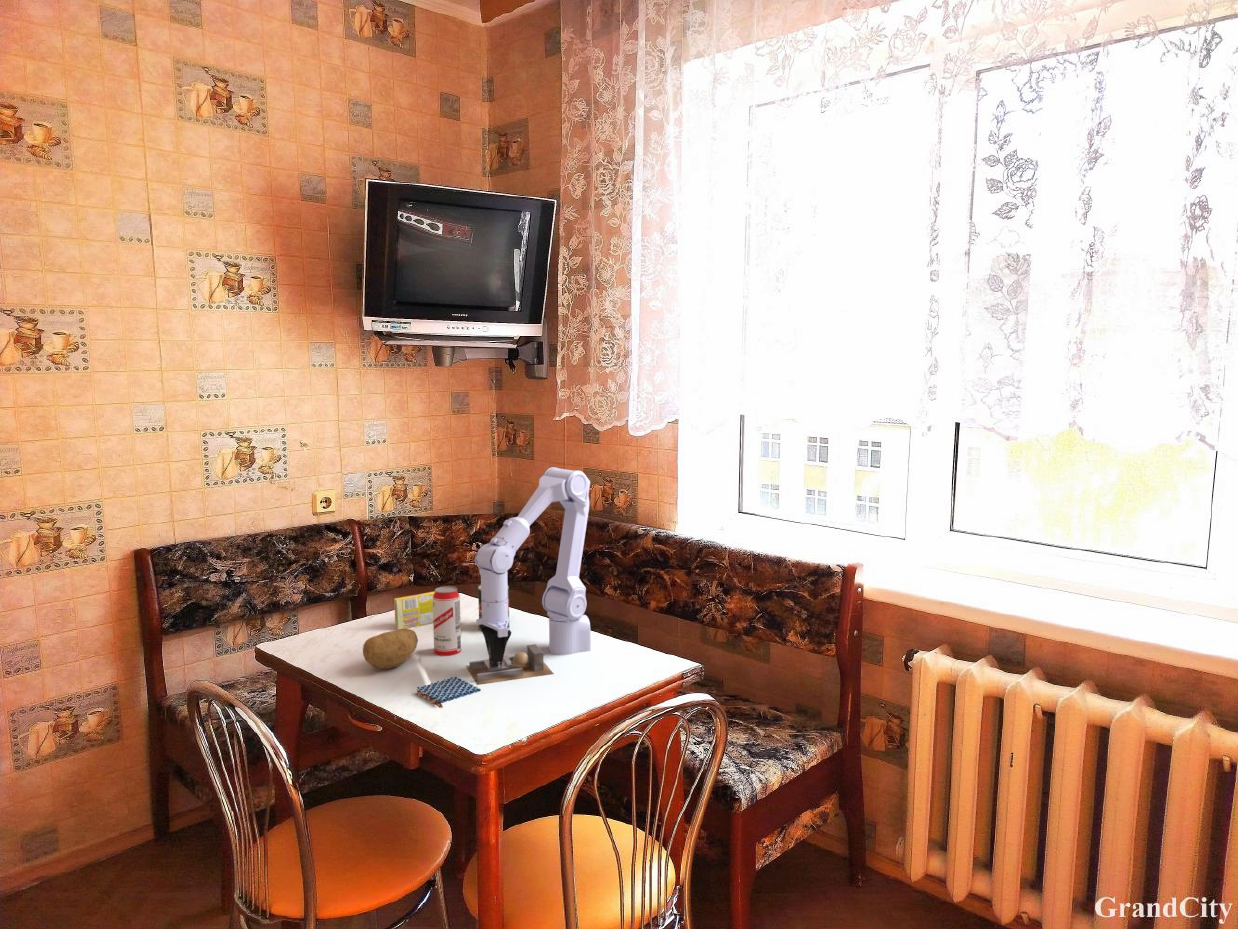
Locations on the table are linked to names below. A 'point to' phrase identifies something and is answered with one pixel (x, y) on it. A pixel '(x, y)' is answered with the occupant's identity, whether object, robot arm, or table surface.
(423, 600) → the candy box
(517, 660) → the walnut
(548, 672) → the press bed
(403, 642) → the potato
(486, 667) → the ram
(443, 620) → the beer can
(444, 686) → the woven mat
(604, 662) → the table surface
